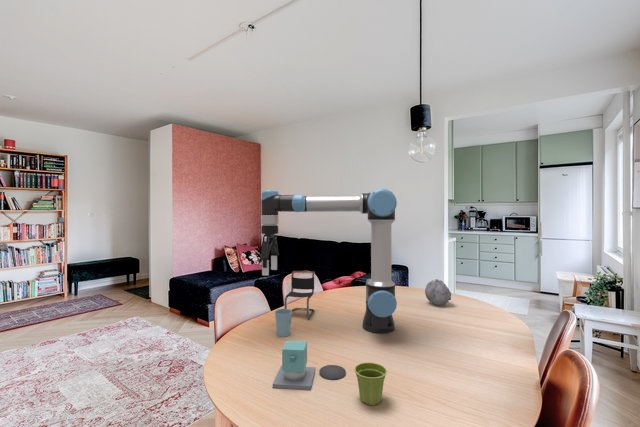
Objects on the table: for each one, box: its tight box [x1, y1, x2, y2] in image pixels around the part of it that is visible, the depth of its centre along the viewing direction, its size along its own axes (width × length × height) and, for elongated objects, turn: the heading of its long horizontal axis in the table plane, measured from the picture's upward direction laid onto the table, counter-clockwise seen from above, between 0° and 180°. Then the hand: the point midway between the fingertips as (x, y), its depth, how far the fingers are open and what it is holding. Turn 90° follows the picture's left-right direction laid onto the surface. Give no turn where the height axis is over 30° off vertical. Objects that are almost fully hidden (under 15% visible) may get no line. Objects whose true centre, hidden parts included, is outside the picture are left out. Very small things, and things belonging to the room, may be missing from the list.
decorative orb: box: [424, 278, 452, 306], centre depth 187 cm, size 15×14×15 cm
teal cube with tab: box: [281, 340, 308, 372], centre depth 103 cm, size 9×7×7 cm
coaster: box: [318, 364, 347, 381], centre depth 107 cm, size 9×9×1 cm
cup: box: [274, 308, 293, 338], centre depth 142 cm, size 8×8×10 cm
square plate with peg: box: [272, 365, 316, 391], centre depth 104 cm, size 12×12×9 cm
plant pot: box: [353, 361, 388, 406], centre depth 92 cm, size 9×9×9 cm
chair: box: [284, 270, 316, 320], centre depth 170 cm, size 13×17×22 cm
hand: (269, 272), depth 142 cm, fingers open, 13 cm apart
